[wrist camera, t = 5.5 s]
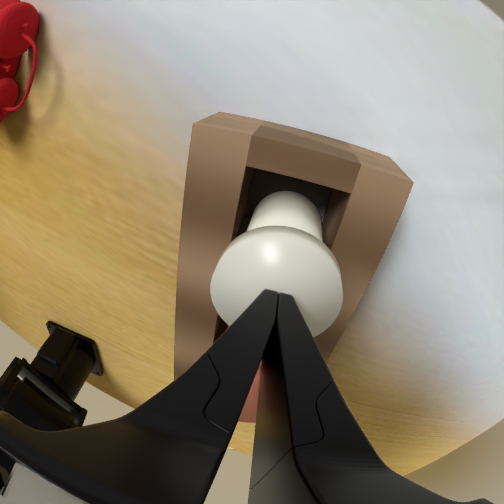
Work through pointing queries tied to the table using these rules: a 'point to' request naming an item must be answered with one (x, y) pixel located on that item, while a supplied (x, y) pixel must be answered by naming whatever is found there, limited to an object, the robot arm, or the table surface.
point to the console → (234, 223)
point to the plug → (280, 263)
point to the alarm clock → (15, 49)
